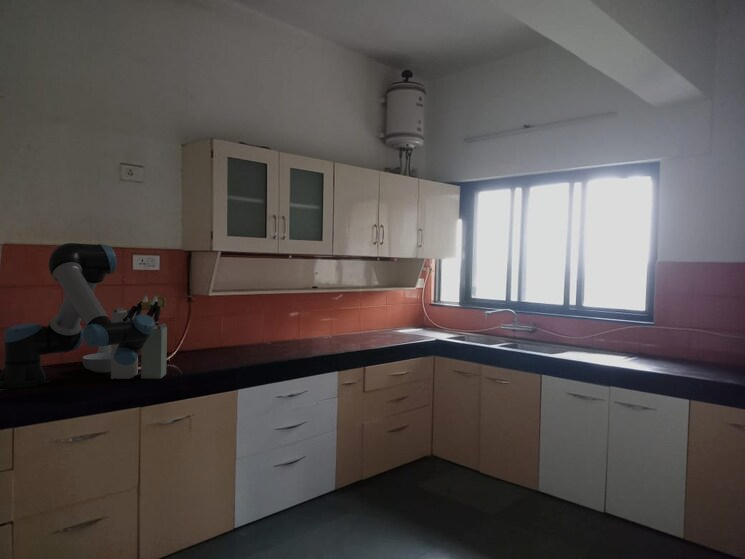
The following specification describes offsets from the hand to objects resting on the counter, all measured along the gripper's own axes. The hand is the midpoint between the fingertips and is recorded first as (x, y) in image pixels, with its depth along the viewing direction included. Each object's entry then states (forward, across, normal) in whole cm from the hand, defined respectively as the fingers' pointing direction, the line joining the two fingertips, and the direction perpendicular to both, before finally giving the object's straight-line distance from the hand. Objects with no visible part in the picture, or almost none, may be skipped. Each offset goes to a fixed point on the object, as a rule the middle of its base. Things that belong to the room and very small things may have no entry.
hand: (151, 298), depth 210 cm
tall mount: (-12, -12, -33) cm, 37 cm away
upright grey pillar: (-12, 0, -33) cm, 35 cm away
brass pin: (+1, 0, -6) cm, 6 cm away
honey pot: (+10, -26, -46) cm, 53 cm away
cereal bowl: (-3, -24, -38) cm, 45 cm away
